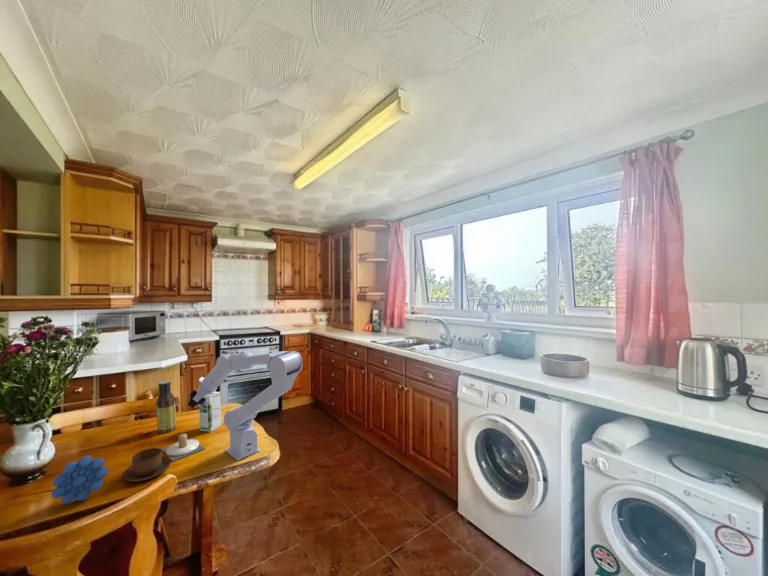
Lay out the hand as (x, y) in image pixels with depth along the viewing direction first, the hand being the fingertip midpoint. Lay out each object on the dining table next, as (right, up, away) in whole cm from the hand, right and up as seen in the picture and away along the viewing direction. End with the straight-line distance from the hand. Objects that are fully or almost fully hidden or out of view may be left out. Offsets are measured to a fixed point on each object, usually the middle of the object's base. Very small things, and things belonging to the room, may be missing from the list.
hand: (196, 398), depth 120 cm
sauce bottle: (-17, -16, +8) cm, 25 cm away
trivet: (-1, -16, -7) cm, 17 cm away
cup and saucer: (-3, -17, -20) cm, 27 cm away
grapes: (-13, -17, -32) cm, 38 cm away
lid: (-1, -16, -7) cm, 17 cm away
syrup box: (0, -16, +10) cm, 18 cm away
